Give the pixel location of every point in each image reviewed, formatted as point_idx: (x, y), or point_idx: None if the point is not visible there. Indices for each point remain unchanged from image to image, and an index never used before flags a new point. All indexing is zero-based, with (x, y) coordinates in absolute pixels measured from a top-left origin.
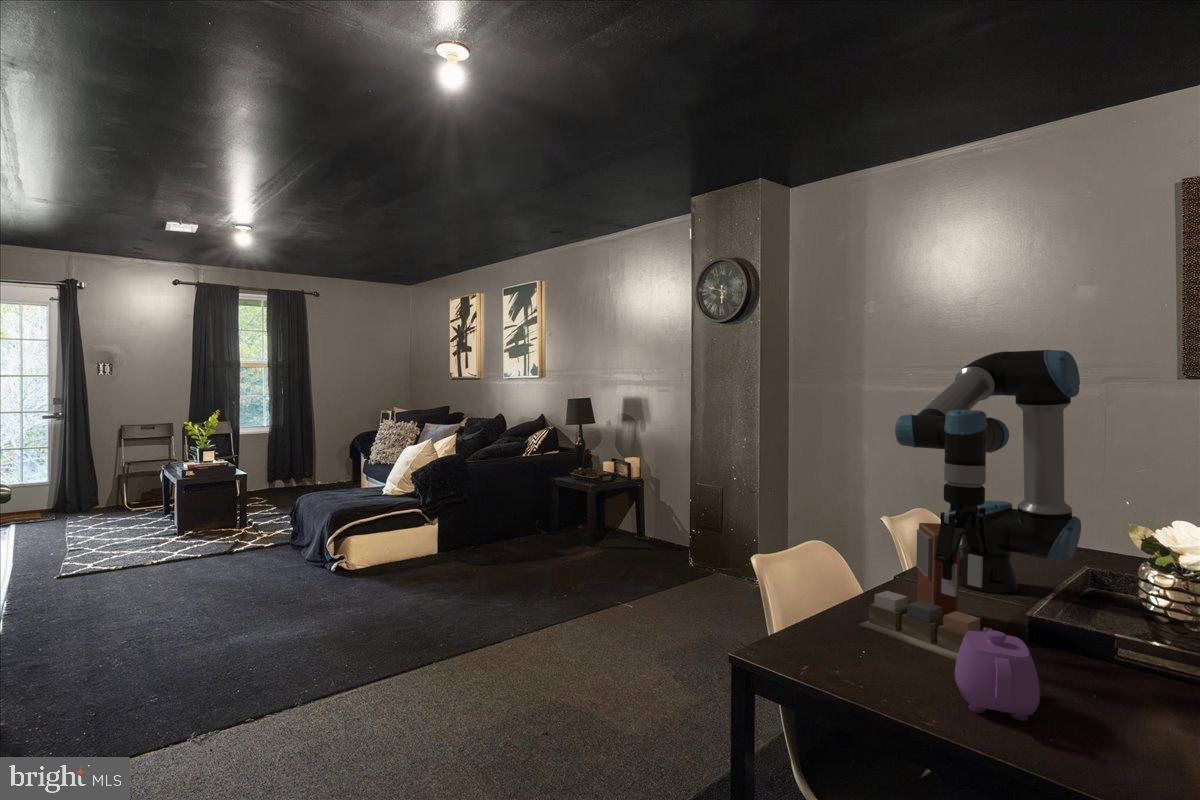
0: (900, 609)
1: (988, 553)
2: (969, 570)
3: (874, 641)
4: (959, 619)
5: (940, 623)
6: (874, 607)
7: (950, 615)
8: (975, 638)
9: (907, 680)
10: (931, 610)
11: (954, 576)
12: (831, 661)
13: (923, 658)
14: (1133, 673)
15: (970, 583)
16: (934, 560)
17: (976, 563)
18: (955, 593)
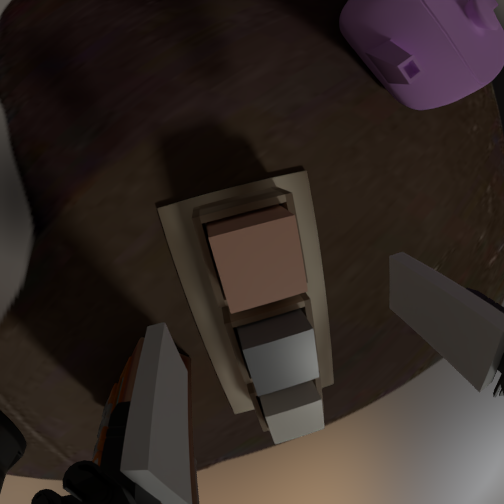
0: (288, 389)
1: (65, 479)
2: (183, 420)
3: (371, 319)
4: (290, 250)
5: (260, 310)
6: (322, 404)
7: (284, 287)
8: (490, 55)
9: (445, 170)
10: (301, 333)
11: (467, 291)
12: (468, 266)
13: (361, 227)
14: (12, 50)
15: (182, 366)
16: (196, 501)
17: (167, 440)
18: (403, 259)
